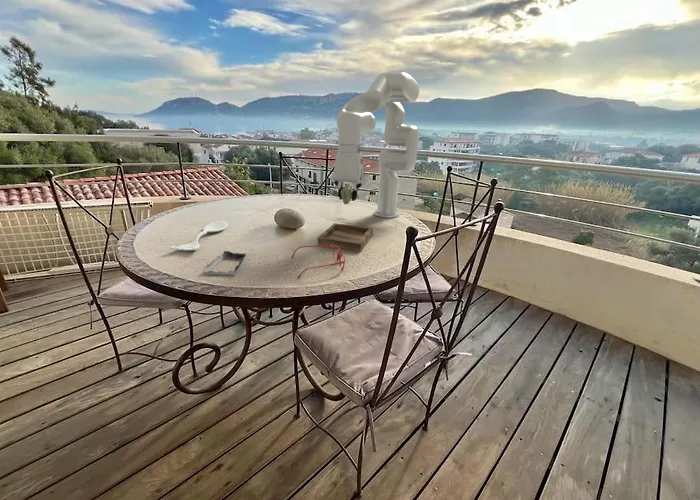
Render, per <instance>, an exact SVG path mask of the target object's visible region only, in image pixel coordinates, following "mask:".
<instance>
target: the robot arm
mask: <svg viewBox="0 0 700 500" xmlns="http://www.w3.org/2000/svg"><path fill="white" fill-rule="evenodd" d="M419 94H420V86H419V84H418V82H417V80H415V79H414V78H413V76H411V75H410V74H409V73H406V72H404V71H393V72H381V73H379V74H378V75H377V76H376V77H375V79H374V80H373V81H372V83H371V84H370V86H369V88H368V89H367V91H365V92H363V93H361V94H360V95H357V96H355V97H354V98H352V99H350V100H349V101H347V102H346V103H345V104H344V106H342V108H341V109H340V112H339V113H338V115H337V119H336V125H337V128H338V152H337V153H336V156H335V160H334V167H333V169H334V170H333V171H334V172H333V173H332V175H331V176H330V177H329V180H330V181H331V182H332V183H333V184H334V185H335V186H336V188H337V189H338V198H339V199H338V200H341V201H342V196H341V190H342V188H343V187H344V186H343V185H344V182H346V183H347V182H349V183H352V199H351V202H355V201H356V200H357V198H358V195H357V189H358V190H359V188H361V187H362V186H364V185H365V184H367V183H368V179H367V178H366V177H365V175H364V163H363V154H362V151H364V148H365V147H364V146H362V145H361V135H363V134H364V135H367V134H370V133H372V132H374V130H375V128H376V126H377V125H376V124H377V122H376V121H377V120H376V119H377V118H376V117H375V114H373V113H375V112H378V111H380V110H382V109H384V108H385V116H386V117H385V126H384V134H383V140H384V144H385V145H387V146H389V147H400V148H405V149H395V148H387V149H382V150H381V151H380V152H379V154H378V168H379V176H378V177H379V179H378V180H379V181H378V193H377V195H378V196H377V209H375V210H373V211H374V212H373V214H374V216H376V217H380V218H385V219H389V218H390V219H392V218H397V217H399V216H400V212H399V211H398V210H397V208H398V197H399V196H398V195H399V184H400V178H399V176H398V174H397V172H404V173H406V172H407V173H409V172H412V171H413V170H414V169H415V167H416V162H417V157H418V150H419V149H418V148H419V142H420V141H419V140H420V133H419V132H420V131H419V128H418V127H417V126H416V125H411V124H405V119H406V112H405V109H404V106H403V105H402V103H403V104H405V103H406V104H407V103H408V104H409V103H410V104H411V103H415V102H416V101H417V100H418V98H419Z"/></svg>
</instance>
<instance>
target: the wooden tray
mask: <svg viewBox="0 0 700 500" xmlns="http://www.w3.org/2000/svg"><path fill="white" fill-rule="evenodd" d="M373 234H374V228H373V227H366V226H360V225H359V226H358V225H353V224H352V225H351V224H345V223H344V224H343V223H336V222H334V223H333V224H332V225H330V227H328V228H327V229H325V231H324V232H323V233H321V234H320V235H319V236H318V237H317V245H337V246H338V247H339V249H340V250H344V251H350V252H358V253H361V252H362V251H363V250H364V249H365V247H366V245H367V244H368V243H369V241H370V240H371V238H372V237H373V236H374V235H373ZM338 247H335V249H337V250H338ZM328 248H331V249H334V247H328Z"/></svg>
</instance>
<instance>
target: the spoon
mask: <svg viewBox="0 0 700 500" xmlns="http://www.w3.org/2000/svg"><path fill="white" fill-rule="evenodd" d="M227 227H228V223H227V222H226V221H223V220H216V221H212V222H210V223H207V224H206V225H204V227H202V231H198V234H197V235H196V236H195V237H194V239H193V240H192V241H191V242H189V243H185V244H180V245H171V246H170V247H169V249H170V250H175V251H196V250H198V249H199V248H200V247H201V246H200V244H199V240H200V238H201V237H202V236H204V235H206V234H207V233H217V232H218V233H219V232H221V231H223V230H225V229H226V228H227Z"/></svg>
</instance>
